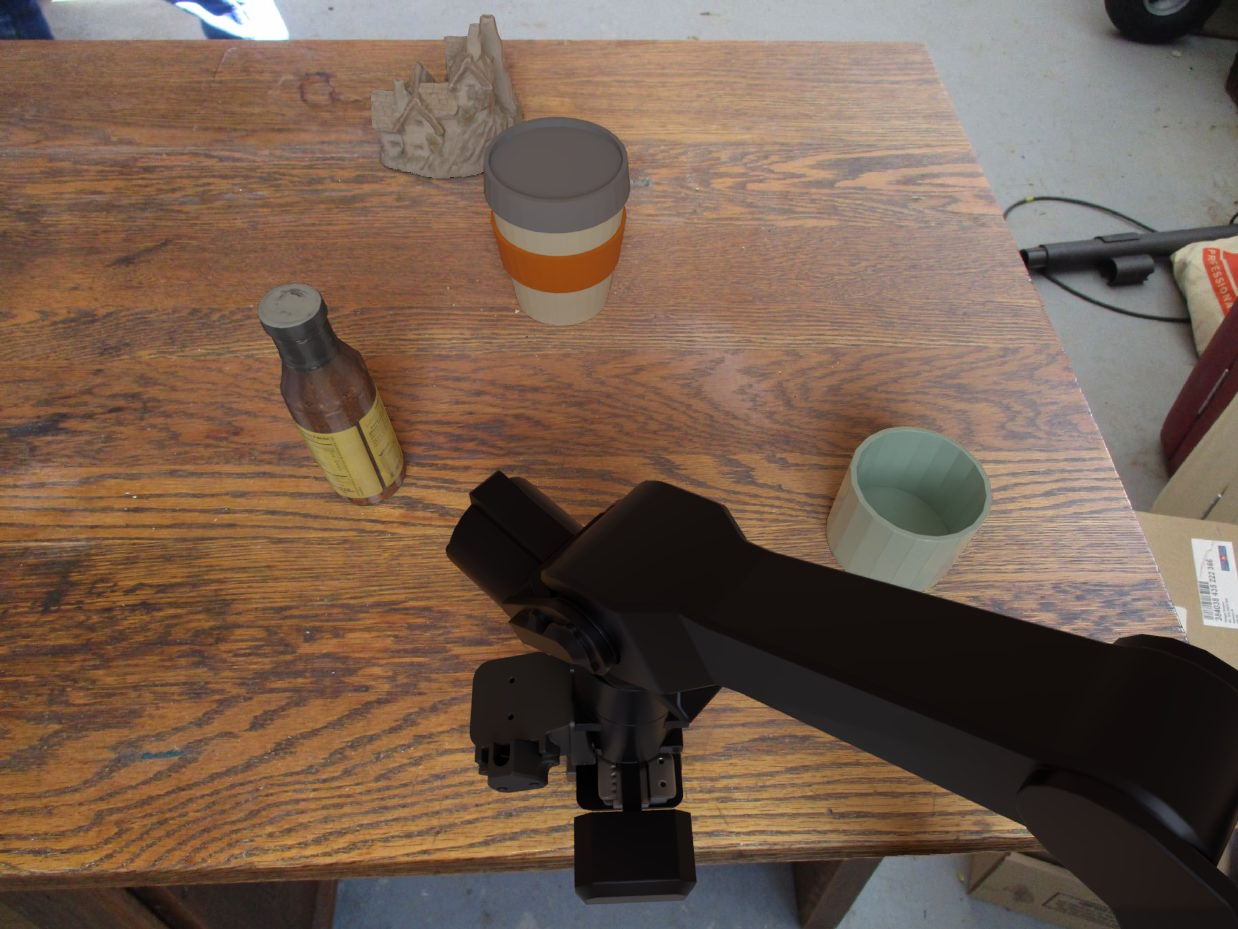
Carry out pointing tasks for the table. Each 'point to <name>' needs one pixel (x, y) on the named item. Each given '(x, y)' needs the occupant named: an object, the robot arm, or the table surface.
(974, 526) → the cup
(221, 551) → the table surface
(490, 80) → the ceramic cottage
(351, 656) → the table surface
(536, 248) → the reusable coffee cup
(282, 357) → the sauce bottle
